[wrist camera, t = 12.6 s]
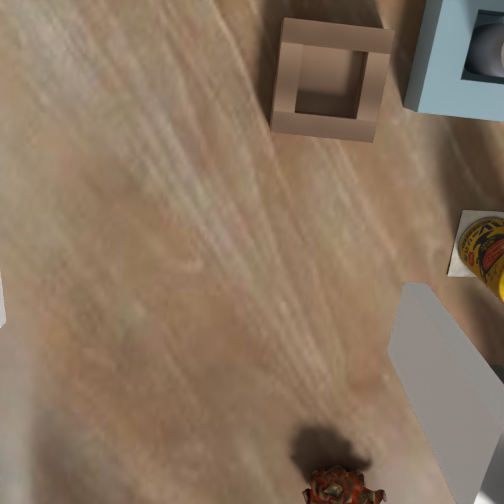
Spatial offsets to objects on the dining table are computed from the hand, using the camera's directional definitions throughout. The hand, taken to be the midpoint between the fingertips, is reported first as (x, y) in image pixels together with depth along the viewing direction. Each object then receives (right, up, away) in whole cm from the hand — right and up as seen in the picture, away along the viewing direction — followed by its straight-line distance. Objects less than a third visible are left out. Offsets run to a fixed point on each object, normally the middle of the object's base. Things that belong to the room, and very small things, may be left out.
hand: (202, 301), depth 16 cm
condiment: (+27, +2, +34) cm, 43 cm away
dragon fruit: (+13, -28, +46) cm, 56 cm away
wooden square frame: (+8, +17, +27) cm, 33 cm away
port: (+22, +19, +26) cm, 39 cm away
